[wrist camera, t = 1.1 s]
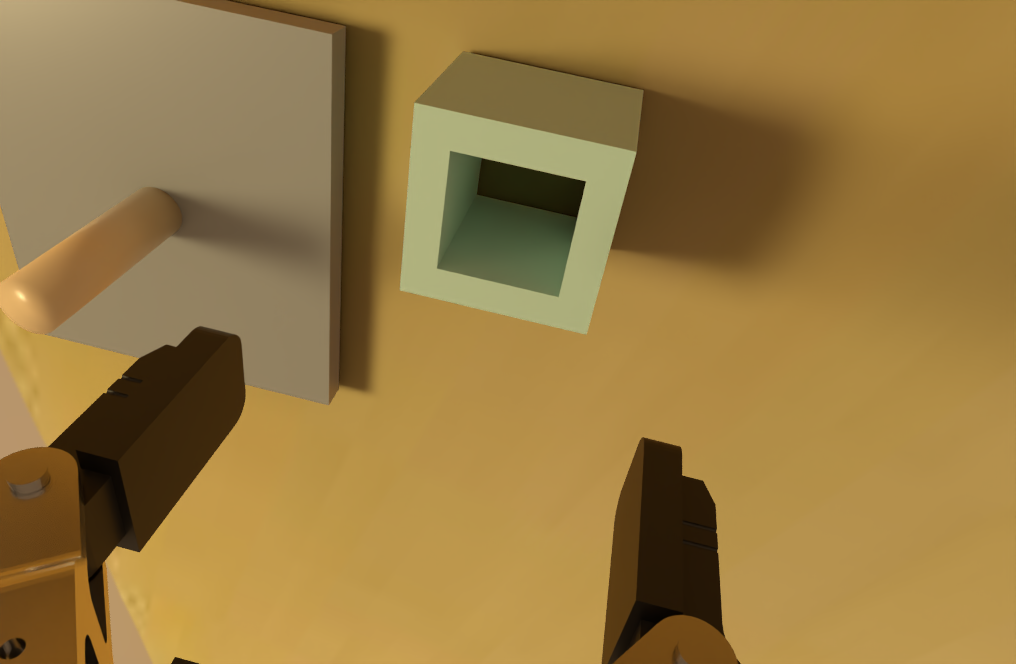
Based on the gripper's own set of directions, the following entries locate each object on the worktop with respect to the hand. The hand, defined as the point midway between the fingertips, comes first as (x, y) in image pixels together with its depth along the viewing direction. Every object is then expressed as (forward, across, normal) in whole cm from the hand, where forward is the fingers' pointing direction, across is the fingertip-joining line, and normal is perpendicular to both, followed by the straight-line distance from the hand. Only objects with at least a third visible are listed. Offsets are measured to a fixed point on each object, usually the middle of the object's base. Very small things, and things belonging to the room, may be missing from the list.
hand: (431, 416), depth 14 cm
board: (+14, +14, +5) cm, 20 cm away
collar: (+14, 0, 0) cm, 14 cm away
